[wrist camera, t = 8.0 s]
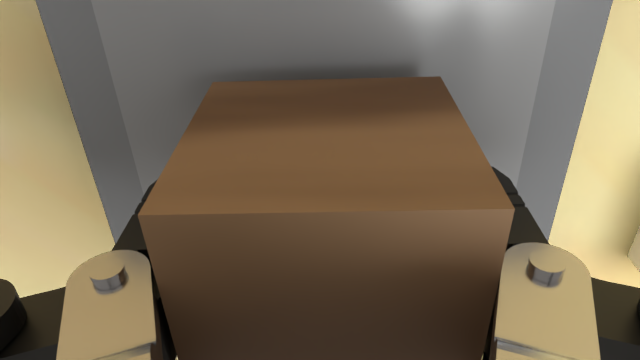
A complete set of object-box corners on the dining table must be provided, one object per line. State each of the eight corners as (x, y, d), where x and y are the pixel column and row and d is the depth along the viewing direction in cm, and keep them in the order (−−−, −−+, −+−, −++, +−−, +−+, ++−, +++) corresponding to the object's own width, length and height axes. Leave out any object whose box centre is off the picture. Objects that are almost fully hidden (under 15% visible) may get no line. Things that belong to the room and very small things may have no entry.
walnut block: (212, 82, 11) (137, 215, 7) (440, 76, 11) (514, 208, 6) (239, 255, 13) (198, 430, 9) (422, 252, 13) (466, 430, 9)
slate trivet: (25, -126, 11) (-9, -127, 10) (623, -152, 10) (656, -155, 9) (152, 297, 18) (140, 324, 17) (515, 292, 17) (527, 319, 16)
